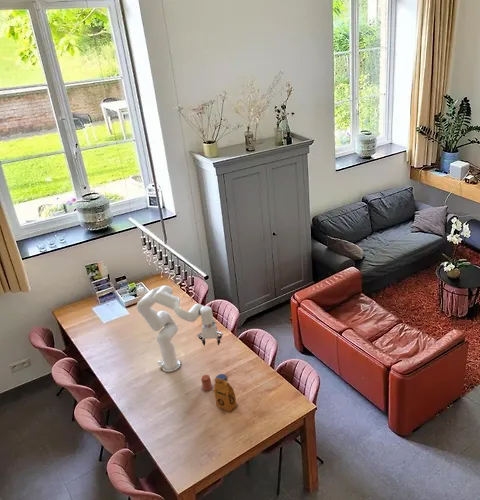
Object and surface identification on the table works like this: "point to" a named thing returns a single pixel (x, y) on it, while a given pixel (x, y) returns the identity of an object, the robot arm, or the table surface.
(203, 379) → the jar
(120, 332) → the table surface
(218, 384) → the coffee package
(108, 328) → the table surface
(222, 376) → the lid
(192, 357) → the table surface
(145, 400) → the table surface
